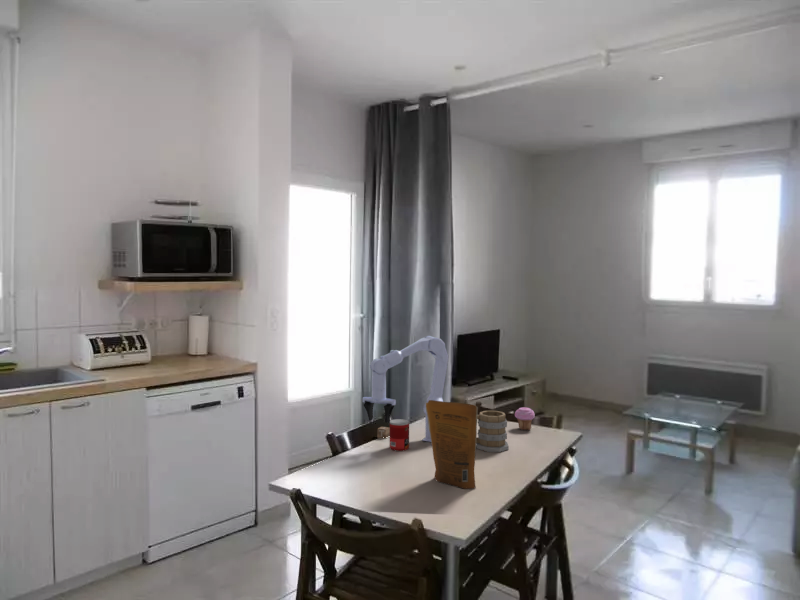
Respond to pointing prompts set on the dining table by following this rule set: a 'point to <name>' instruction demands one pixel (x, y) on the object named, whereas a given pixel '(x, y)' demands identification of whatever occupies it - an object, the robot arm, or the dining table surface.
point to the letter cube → (383, 432)
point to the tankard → (492, 431)
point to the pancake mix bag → (453, 441)
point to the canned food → (399, 434)
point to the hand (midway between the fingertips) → (379, 420)
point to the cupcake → (524, 418)
